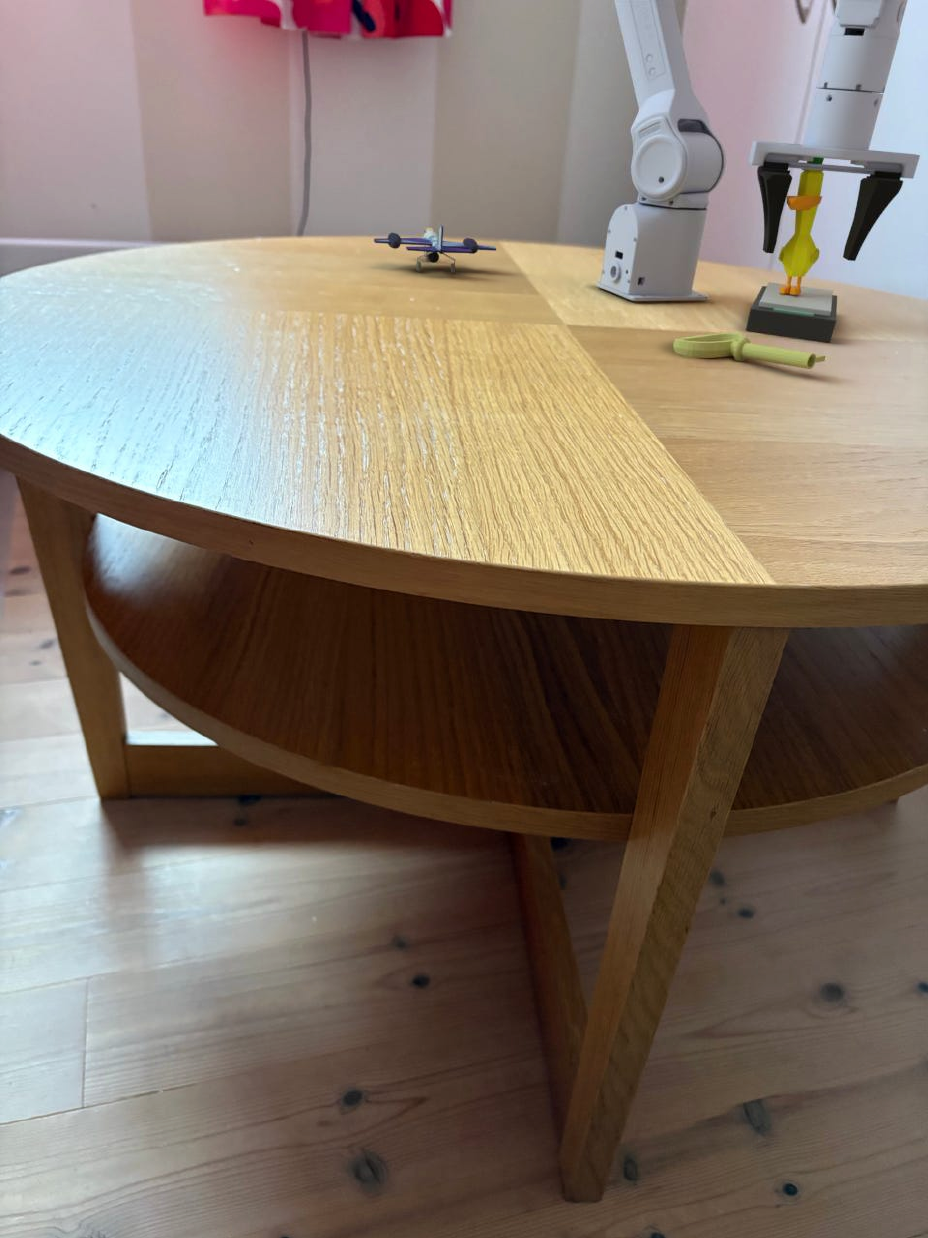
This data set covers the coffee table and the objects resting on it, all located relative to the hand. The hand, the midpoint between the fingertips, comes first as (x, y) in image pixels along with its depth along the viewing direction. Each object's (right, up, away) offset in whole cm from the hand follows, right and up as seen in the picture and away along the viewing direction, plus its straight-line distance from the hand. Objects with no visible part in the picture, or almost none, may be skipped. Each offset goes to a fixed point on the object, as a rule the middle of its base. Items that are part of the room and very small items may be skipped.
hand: (808, 255), depth 85 cm
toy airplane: (-37, +5, +16) cm, 40 cm away
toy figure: (-1, -3, +2) cm, 4 cm away
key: (-10, -14, -12) cm, 21 cm away
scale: (-1, -6, +2) cm, 6 cm away
